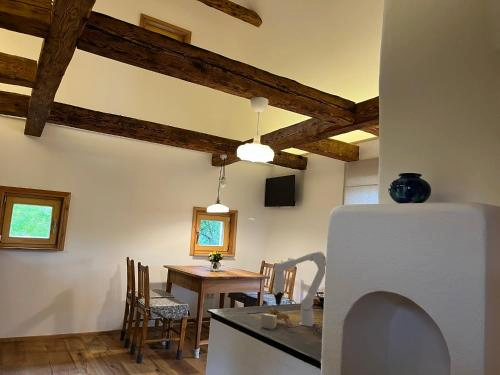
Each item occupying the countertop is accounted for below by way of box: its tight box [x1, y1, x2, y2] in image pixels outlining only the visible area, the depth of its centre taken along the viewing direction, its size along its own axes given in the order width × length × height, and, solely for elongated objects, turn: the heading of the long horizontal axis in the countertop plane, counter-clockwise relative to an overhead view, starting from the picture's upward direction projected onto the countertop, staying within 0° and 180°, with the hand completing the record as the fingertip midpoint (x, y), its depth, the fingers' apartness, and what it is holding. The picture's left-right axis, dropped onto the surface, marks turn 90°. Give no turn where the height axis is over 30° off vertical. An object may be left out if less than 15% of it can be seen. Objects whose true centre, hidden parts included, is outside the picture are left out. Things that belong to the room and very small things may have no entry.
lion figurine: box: [268, 307, 293, 327], centre depth 223 cm, size 15×5×9 cm, turn 74°
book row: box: [260, 313, 278, 330], centre depth 216 cm, size 7×7×7 cm
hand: (278, 304), depth 232 cm, fingers closed
